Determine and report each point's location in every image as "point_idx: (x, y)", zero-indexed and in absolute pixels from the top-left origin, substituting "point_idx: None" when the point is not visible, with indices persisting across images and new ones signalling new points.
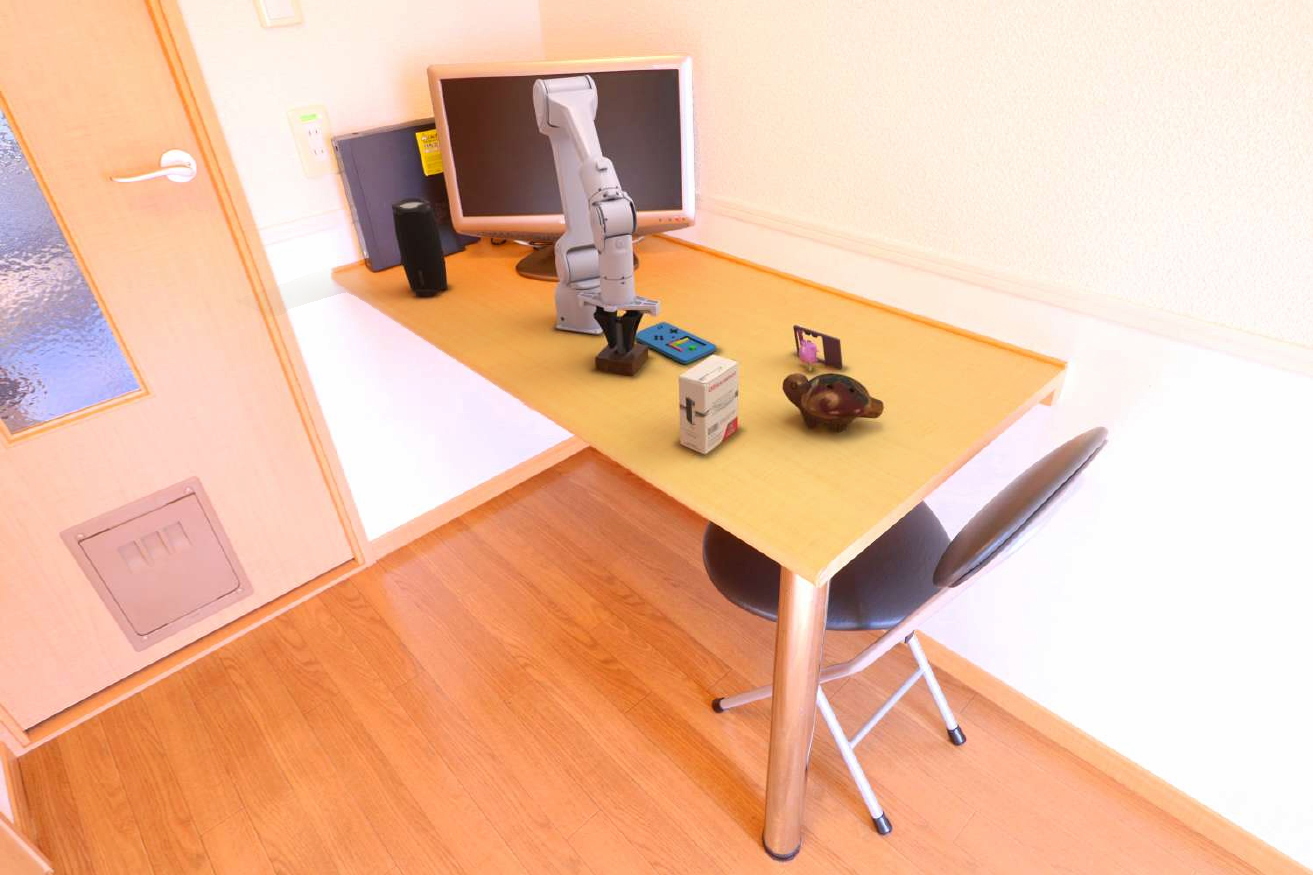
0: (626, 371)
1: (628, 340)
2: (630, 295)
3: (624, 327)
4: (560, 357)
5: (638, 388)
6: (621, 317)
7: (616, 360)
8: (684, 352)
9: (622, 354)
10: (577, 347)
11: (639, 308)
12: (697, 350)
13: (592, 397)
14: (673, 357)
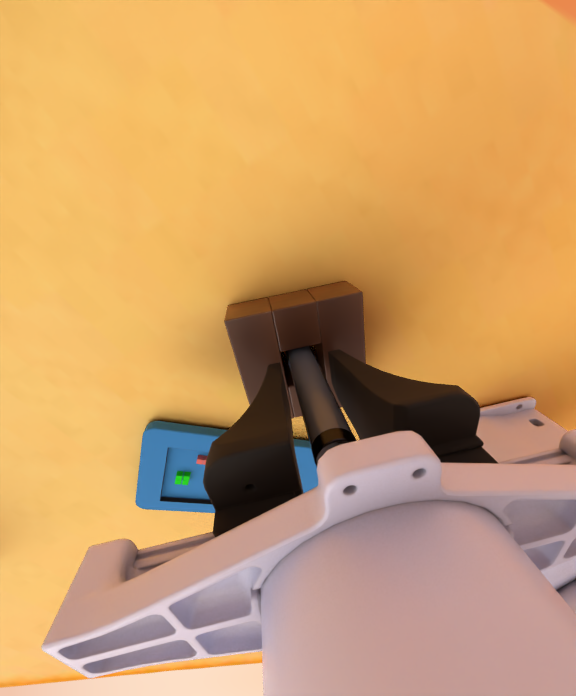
0: (248, 305)
1: (264, 383)
2: (265, 691)
3: (275, 413)
4: (474, 291)
5: (162, 252)
6: (285, 448)
7: (284, 309)
8: (188, 457)
9: (293, 354)
10: (450, 355)
11: (170, 571)
12: (158, 475)
13: (255, 102)
14: (193, 428)
